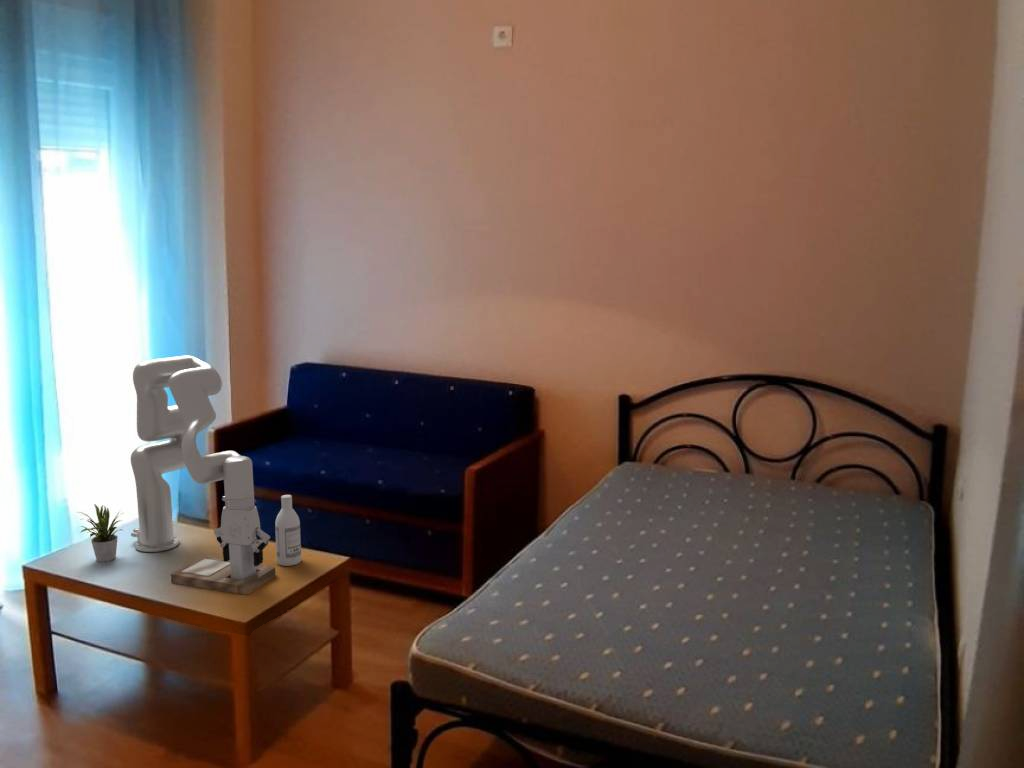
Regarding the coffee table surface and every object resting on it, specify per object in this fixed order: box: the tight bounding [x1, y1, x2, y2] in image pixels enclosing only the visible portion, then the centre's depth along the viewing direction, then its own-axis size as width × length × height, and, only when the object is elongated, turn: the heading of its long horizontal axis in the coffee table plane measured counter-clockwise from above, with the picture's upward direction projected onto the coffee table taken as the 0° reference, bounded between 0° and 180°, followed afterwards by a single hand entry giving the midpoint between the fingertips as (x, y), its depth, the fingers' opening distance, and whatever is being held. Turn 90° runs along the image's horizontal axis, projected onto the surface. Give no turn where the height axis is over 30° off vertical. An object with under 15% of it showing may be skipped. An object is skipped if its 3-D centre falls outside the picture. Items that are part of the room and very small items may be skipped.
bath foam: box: [274, 494, 302, 567], centre depth 267 cm, size 7×7×20 cm
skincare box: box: [229, 544, 257, 581], centre depth 253 cm, size 6×4×12 cm
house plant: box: [77, 503, 124, 563], centre depth 270 cm, size 14×14×16 cm
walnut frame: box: [170, 555, 277, 596], centre depth 256 cm, size 24×14×3 cm, turn 71°
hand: (243, 562), depth 253 cm, fingers open, 9 cm apart
